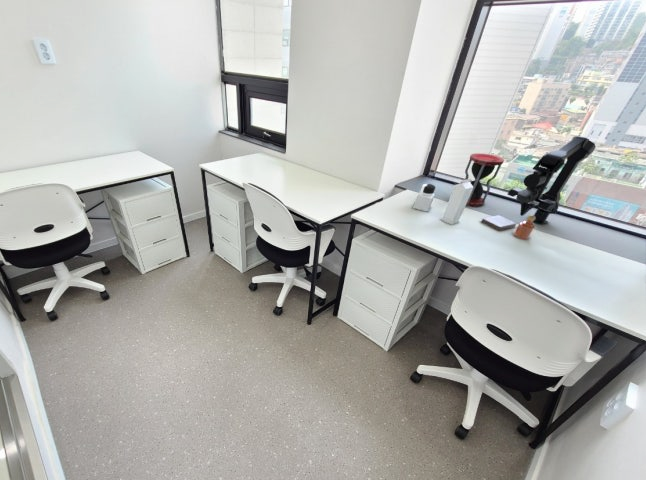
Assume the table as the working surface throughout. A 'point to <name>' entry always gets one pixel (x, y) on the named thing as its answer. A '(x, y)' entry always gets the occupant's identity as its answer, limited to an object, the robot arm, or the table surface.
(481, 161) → the hourglass
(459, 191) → the milk
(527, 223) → the bottle
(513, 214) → the table surface
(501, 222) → the riser
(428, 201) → the container
